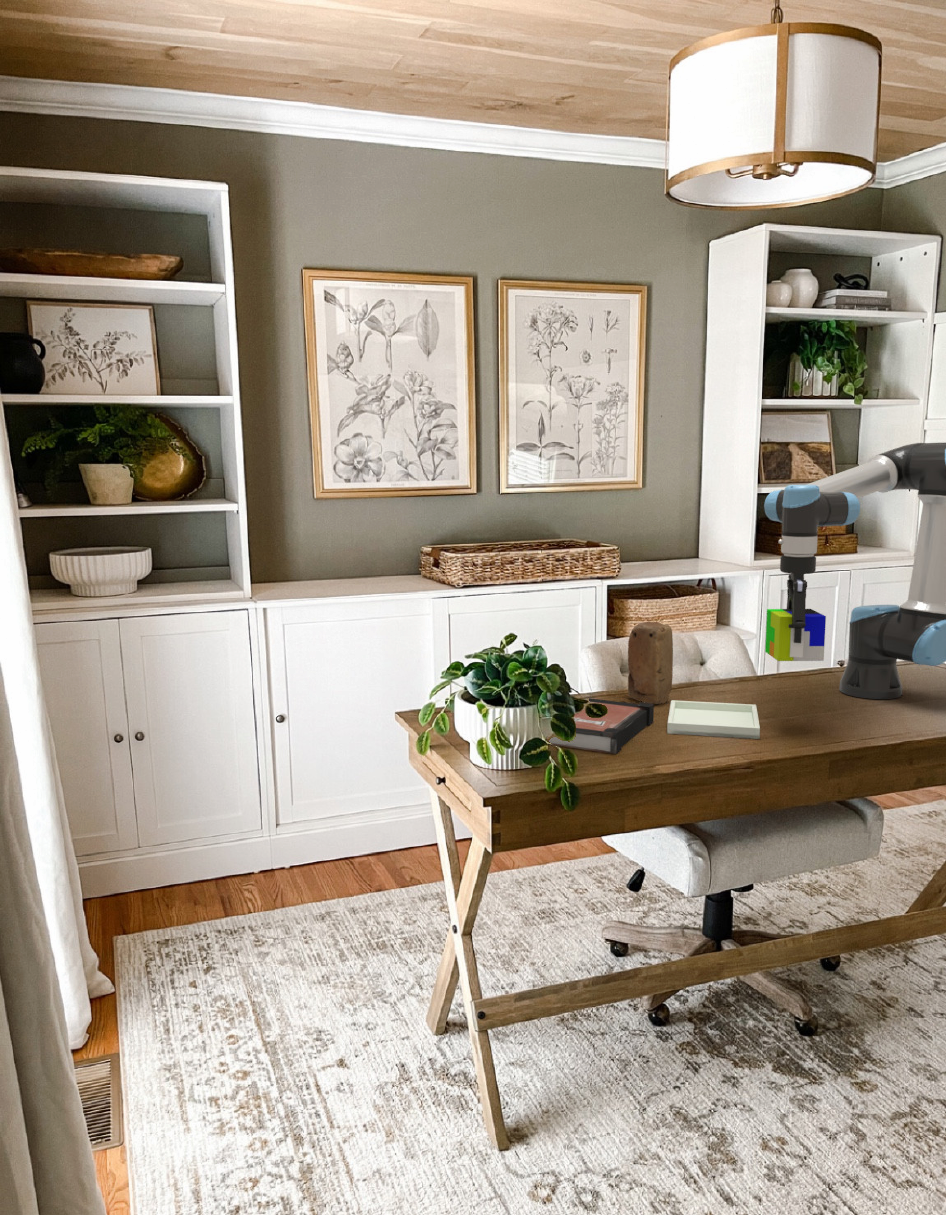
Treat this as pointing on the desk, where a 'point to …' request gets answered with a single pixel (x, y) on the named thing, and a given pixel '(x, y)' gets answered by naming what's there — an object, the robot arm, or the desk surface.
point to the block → (650, 662)
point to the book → (609, 726)
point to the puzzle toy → (781, 635)
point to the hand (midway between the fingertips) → (793, 651)
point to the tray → (713, 719)
